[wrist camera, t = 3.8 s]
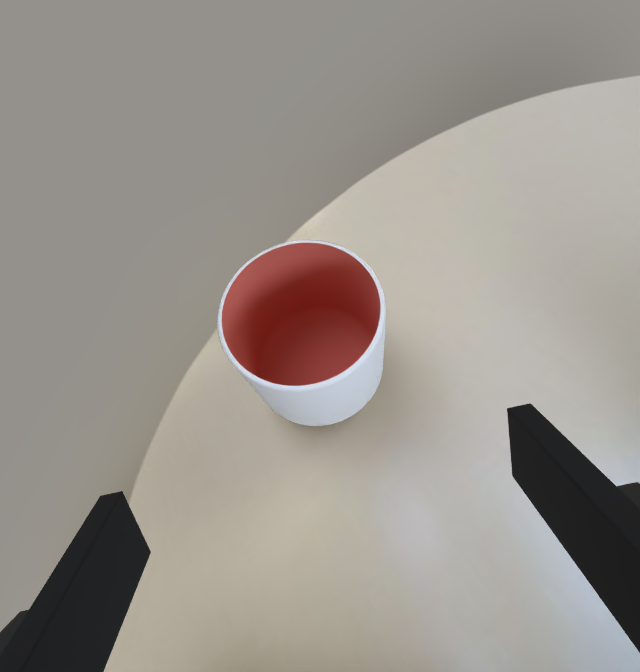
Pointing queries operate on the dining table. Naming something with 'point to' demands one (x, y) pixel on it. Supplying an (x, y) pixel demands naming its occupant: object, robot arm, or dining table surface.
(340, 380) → the cup
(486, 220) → the dining table surface
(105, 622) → the robot arm
